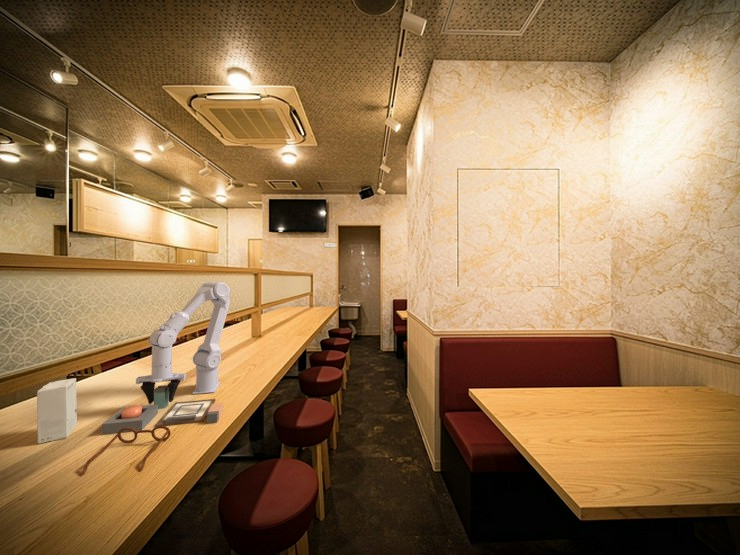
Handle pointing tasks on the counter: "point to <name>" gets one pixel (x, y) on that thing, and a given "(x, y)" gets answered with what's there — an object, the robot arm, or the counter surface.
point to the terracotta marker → (214, 413)
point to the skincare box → (56, 410)
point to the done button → (132, 412)
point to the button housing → (129, 420)
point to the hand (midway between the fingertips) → (161, 401)
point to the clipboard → (186, 412)
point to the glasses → (132, 441)
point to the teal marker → (161, 396)
